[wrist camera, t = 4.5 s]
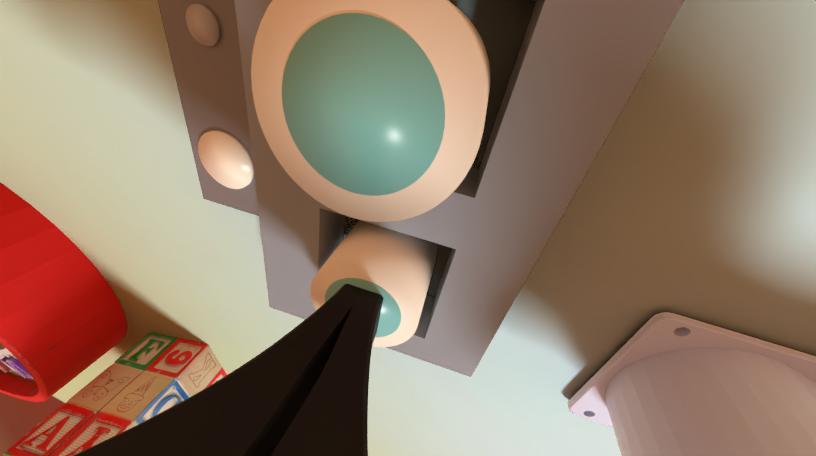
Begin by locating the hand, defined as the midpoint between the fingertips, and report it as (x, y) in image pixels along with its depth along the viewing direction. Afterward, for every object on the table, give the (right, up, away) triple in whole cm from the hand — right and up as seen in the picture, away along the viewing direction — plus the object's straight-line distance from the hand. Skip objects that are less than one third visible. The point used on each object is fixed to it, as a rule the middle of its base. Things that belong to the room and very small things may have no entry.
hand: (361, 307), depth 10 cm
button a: (+1, +2, +3) cm, 4 cm away
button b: (+2, +7, -2) cm, 7 cm away
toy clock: (-30, 0, +14) cm, 34 cm away
